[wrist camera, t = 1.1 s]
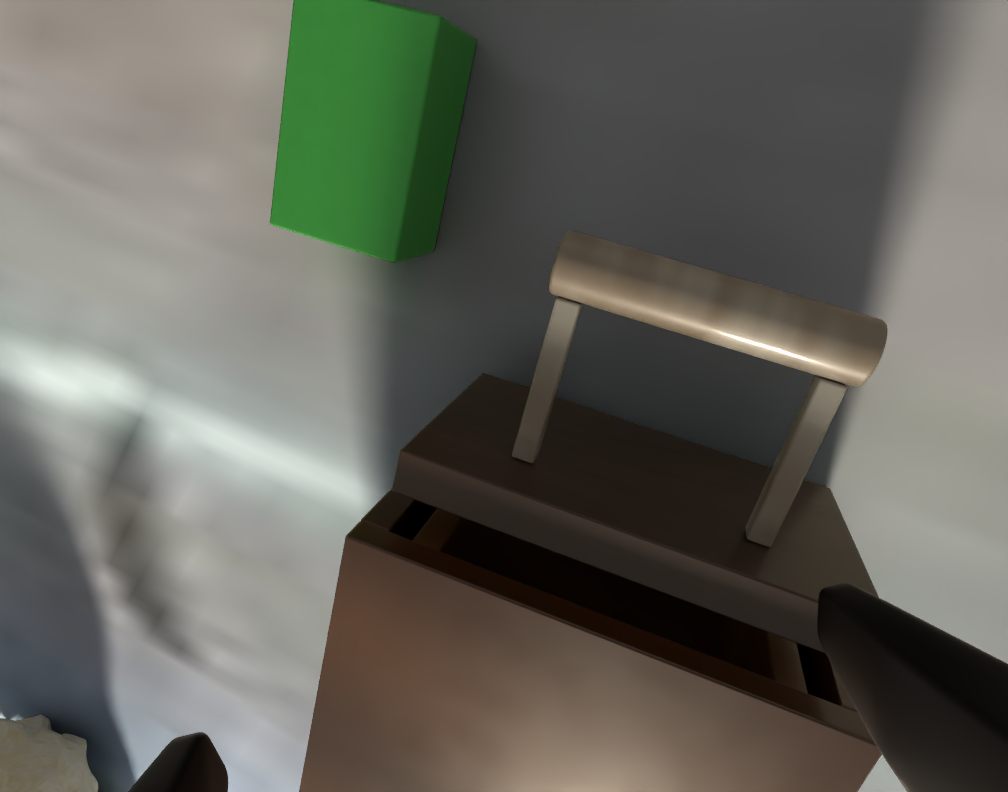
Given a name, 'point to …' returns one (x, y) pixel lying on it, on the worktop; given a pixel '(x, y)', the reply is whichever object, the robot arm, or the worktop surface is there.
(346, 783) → the cabinet
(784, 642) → the drawer
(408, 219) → the green rectangular box
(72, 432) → the worktop surface
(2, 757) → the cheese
